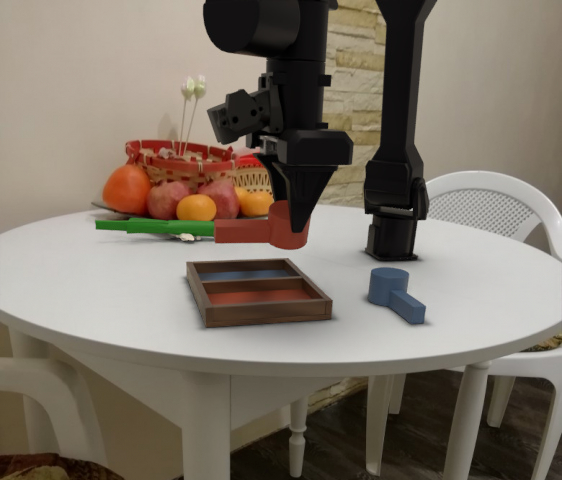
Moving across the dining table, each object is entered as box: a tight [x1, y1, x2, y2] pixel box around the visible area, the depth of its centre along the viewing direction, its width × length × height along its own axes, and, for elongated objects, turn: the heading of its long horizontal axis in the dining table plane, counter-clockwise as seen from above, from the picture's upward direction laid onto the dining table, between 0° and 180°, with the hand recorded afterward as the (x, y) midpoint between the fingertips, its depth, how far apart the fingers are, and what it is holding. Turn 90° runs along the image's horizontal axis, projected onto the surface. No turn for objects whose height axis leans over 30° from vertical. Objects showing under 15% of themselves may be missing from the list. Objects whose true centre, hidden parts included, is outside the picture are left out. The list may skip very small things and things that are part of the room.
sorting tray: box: [185, 257, 334, 328], centre depth 66 cm, size 14×18×2 cm
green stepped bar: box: [94, 217, 214, 242], centre depth 90 cm, size 5×3×30 cm
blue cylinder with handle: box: [367, 266, 427, 325], centre depth 64 cm, size 10×5×4 cm, turn 15°
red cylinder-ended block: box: [213, 200, 312, 251], centre depth 59 cm, size 10×5×4 cm, turn 103°
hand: (289, 227), depth 59 cm, fingers closed on red cylinder-ended block, 5 cm apart
